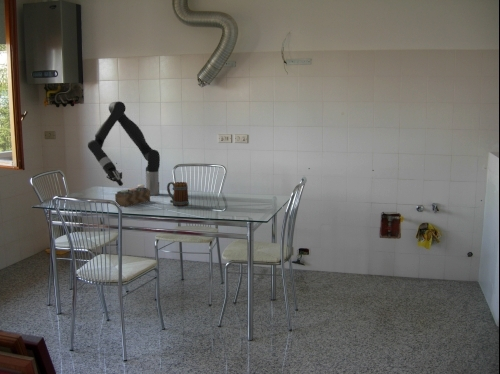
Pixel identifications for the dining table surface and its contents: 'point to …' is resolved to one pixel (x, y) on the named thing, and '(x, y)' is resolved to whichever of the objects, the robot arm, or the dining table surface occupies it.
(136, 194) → the wooden egg crate
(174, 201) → the mug
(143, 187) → the cream egg
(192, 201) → the dining table surface
